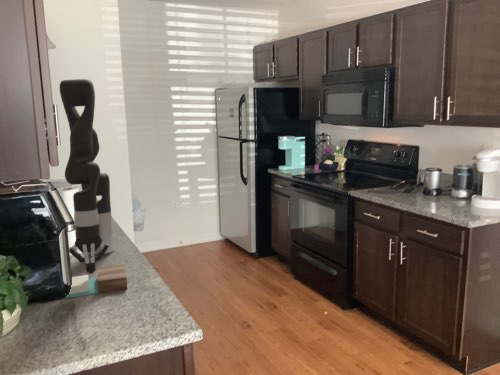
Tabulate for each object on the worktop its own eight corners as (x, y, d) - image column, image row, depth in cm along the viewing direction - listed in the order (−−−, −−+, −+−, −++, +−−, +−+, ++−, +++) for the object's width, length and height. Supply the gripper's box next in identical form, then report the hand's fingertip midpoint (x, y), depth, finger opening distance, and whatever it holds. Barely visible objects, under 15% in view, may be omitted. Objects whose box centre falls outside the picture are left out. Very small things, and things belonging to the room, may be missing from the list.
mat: (67, 282, 150) (67, 281, 150) (98, 278, 153) (98, 277, 153) (65, 298, 137) (65, 297, 137) (98, 293, 140) (98, 292, 140)
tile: (88, 274, 149) (88, 281, 150) (69, 277, 147) (70, 284, 148) (88, 284, 141) (88, 291, 141) (68, 287, 139) (69, 294, 139)
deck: (98, 278, 153) (97, 268, 152) (124, 275, 156) (123, 264, 155) (98, 292, 141) (97, 281, 140) (127, 288, 144) (126, 277, 143)
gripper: (107, 218, 148) (111, 266, 151) (65, 222, 144) (70, 271, 147) (108, 223, 141) (112, 274, 144) (64, 227, 137) (69, 279, 140)
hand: (91, 272), depth 145 cm, fingers closed
